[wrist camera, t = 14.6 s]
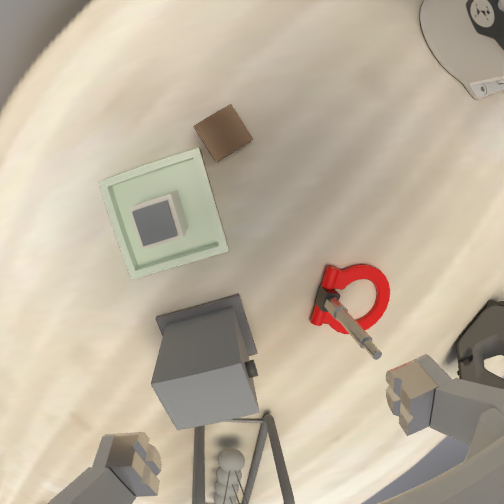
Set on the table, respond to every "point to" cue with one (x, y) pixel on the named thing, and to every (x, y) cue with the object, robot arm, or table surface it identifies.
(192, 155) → the tray
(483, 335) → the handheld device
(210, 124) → the walnut block
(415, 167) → the table surface
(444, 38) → the robot arm
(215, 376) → the control box
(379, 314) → the tow hook
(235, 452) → the newton's cradle
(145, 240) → the block
